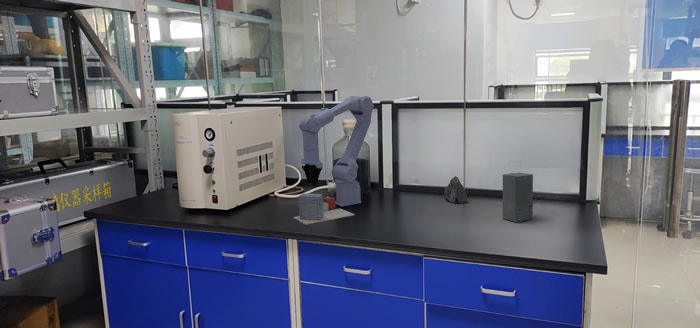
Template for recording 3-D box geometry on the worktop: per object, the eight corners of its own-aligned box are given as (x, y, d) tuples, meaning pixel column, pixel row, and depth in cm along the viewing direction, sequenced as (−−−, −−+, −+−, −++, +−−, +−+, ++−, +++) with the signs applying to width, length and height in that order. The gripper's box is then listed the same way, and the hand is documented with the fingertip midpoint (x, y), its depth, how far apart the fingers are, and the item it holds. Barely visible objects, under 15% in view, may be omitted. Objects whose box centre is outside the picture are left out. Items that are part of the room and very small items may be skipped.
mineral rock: (446, 195, 206) (445, 172, 205) (472, 197, 202) (472, 173, 201) (438, 203, 195) (438, 178, 193) (466, 204, 191) (466, 179, 189)
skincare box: (515, 223, 164) (516, 176, 162) (500, 218, 171) (500, 173, 168) (534, 219, 168) (535, 173, 165) (518, 214, 174) (519, 170, 172)
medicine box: (324, 217, 180) (323, 193, 178) (319, 220, 175) (318, 196, 174) (304, 215, 182) (303, 193, 181) (299, 219, 178) (297, 195, 177)
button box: (319, 206, 196) (318, 199, 195) (328, 210, 189) (328, 203, 188) (300, 210, 192) (300, 202, 191) (309, 214, 185) (309, 206, 184)
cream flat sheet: (340, 209, 191) (340, 208, 191) (354, 215, 182) (354, 214, 182) (292, 217, 181) (292, 217, 181) (305, 224, 172) (305, 224, 172)
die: (329, 206, 196) (328, 195, 195) (335, 207, 193) (334, 196, 192) (321, 208, 194) (320, 197, 193) (327, 209, 191) (326, 198, 190)
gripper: (293, 148, 190) (295, 182, 193) (309, 152, 178) (311, 188, 180) (310, 146, 194) (311, 180, 196) (327, 150, 182) (328, 186, 184)
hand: (312, 184), depth 188 cm, fingers open, 3 cm apart
